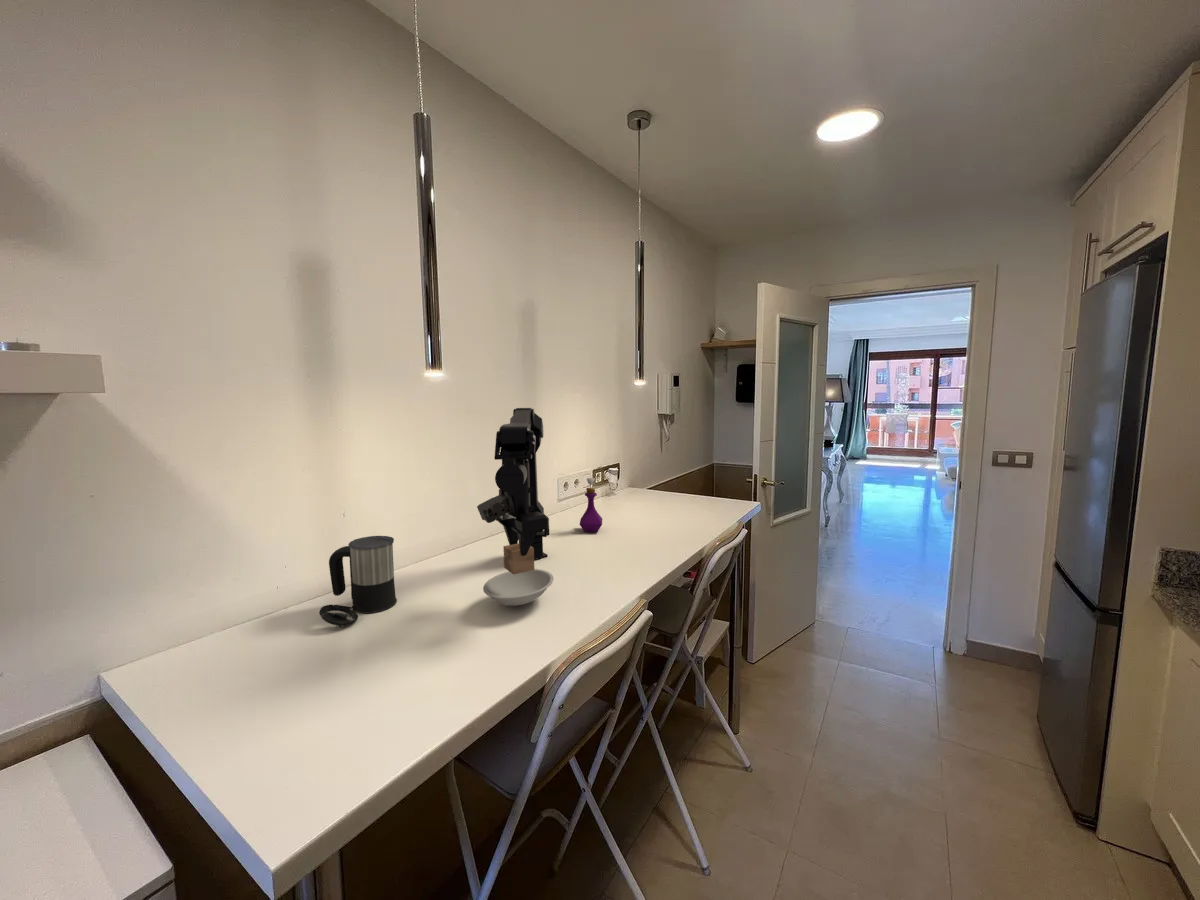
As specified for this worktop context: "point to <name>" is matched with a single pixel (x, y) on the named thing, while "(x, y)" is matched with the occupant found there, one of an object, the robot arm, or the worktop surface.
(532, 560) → the walnut block
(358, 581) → the milk frother
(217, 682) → the worktop surface
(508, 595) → the dish
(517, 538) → the robot arm
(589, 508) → the perfume bottle
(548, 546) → the worktop surface
